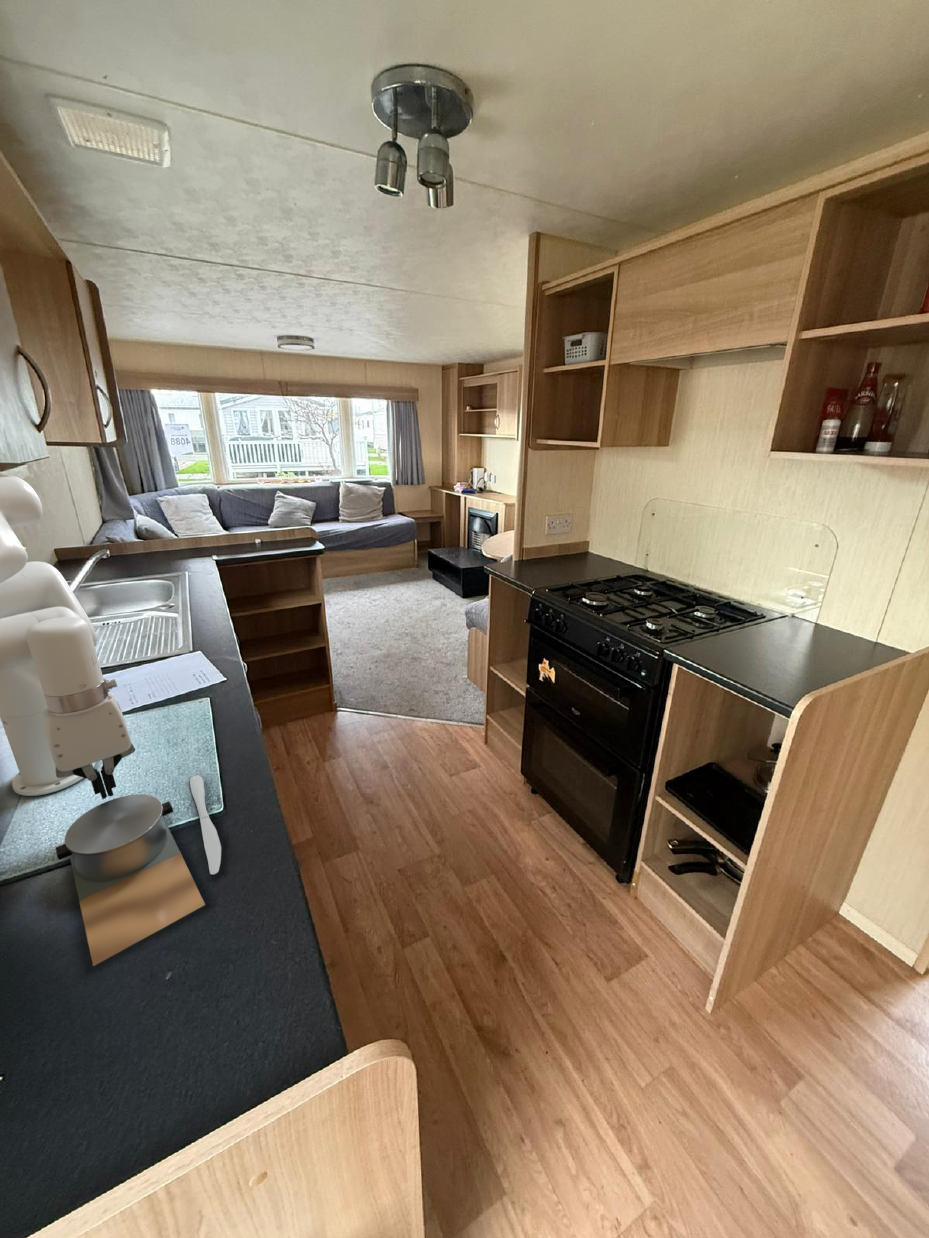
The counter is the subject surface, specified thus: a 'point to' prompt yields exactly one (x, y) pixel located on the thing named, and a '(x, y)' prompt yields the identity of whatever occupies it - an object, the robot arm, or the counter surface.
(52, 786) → the robot arm
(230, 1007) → the counter surface
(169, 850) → the gray square tile
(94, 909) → the trivet
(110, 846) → the pot
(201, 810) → the butter knife
